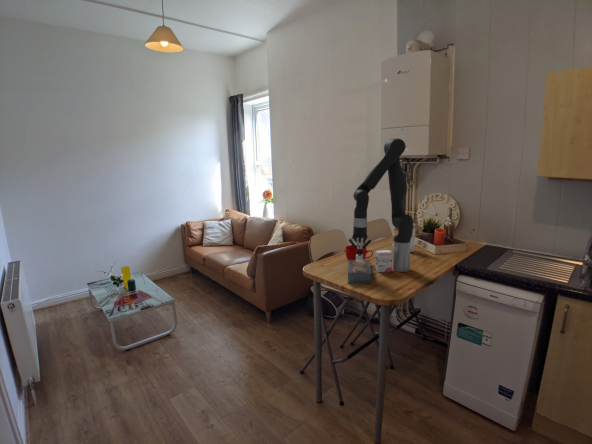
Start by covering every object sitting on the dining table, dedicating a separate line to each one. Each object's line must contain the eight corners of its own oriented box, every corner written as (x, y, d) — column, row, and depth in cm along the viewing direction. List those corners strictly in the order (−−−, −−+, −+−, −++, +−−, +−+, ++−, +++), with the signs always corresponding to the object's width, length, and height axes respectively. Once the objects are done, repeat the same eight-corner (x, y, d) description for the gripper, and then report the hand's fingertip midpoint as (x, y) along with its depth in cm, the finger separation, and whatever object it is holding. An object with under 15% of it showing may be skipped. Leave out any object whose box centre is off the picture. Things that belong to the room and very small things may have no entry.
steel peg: (355, 262, 190) (355, 253, 189) (362, 263, 190) (362, 254, 188) (355, 265, 186) (355, 256, 185) (362, 265, 186) (363, 256, 185)
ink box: (388, 268, 194) (389, 249, 192) (392, 271, 189) (392, 252, 187) (374, 269, 193) (375, 250, 191) (377, 272, 189) (378, 252, 186)
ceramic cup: (373, 267, 197) (373, 251, 194) (344, 266, 200) (344, 250, 198) (372, 260, 209) (372, 245, 207) (345, 259, 212) (345, 244, 210)
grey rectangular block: (355, 269, 179) (355, 259, 177) (363, 269, 178) (363, 259, 177) (355, 271, 175) (355, 262, 174) (363, 272, 174) (363, 262, 173)
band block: (348, 268, 195) (348, 259, 194) (369, 269, 193) (369, 260, 192) (347, 283, 174) (348, 272, 172) (371, 284, 172) (371, 273, 170)
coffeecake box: (391, 247, 237) (392, 221, 233) (399, 246, 240) (400, 220, 236) (406, 252, 224) (408, 225, 220) (414, 251, 226) (416, 223, 222)
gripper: (372, 224, 186) (370, 253, 189) (348, 223, 188) (347, 252, 192) (372, 227, 178) (371, 257, 182) (348, 226, 181) (347, 256, 184)
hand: (359, 255), depth 187 cm, fingers closed
